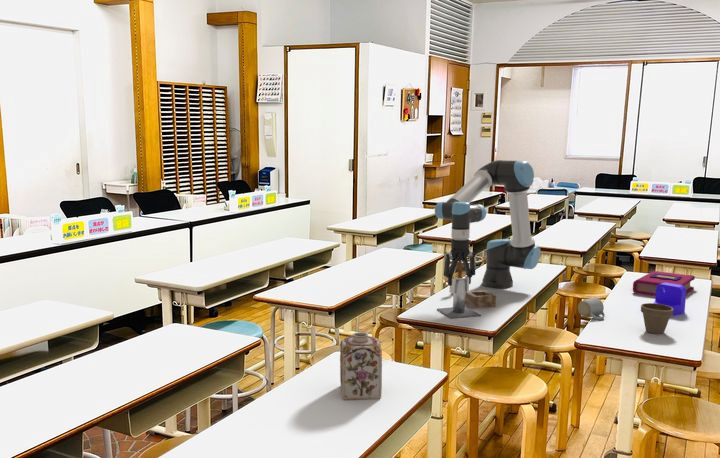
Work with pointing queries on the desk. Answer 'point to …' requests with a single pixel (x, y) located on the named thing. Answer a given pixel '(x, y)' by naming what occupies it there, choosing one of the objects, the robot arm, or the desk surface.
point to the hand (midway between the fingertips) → (459, 292)
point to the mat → (452, 314)
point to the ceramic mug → (591, 308)
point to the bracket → (671, 297)
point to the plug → (459, 295)
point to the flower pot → (656, 317)
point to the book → (651, 280)
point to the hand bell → (459, 268)
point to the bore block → (480, 299)
